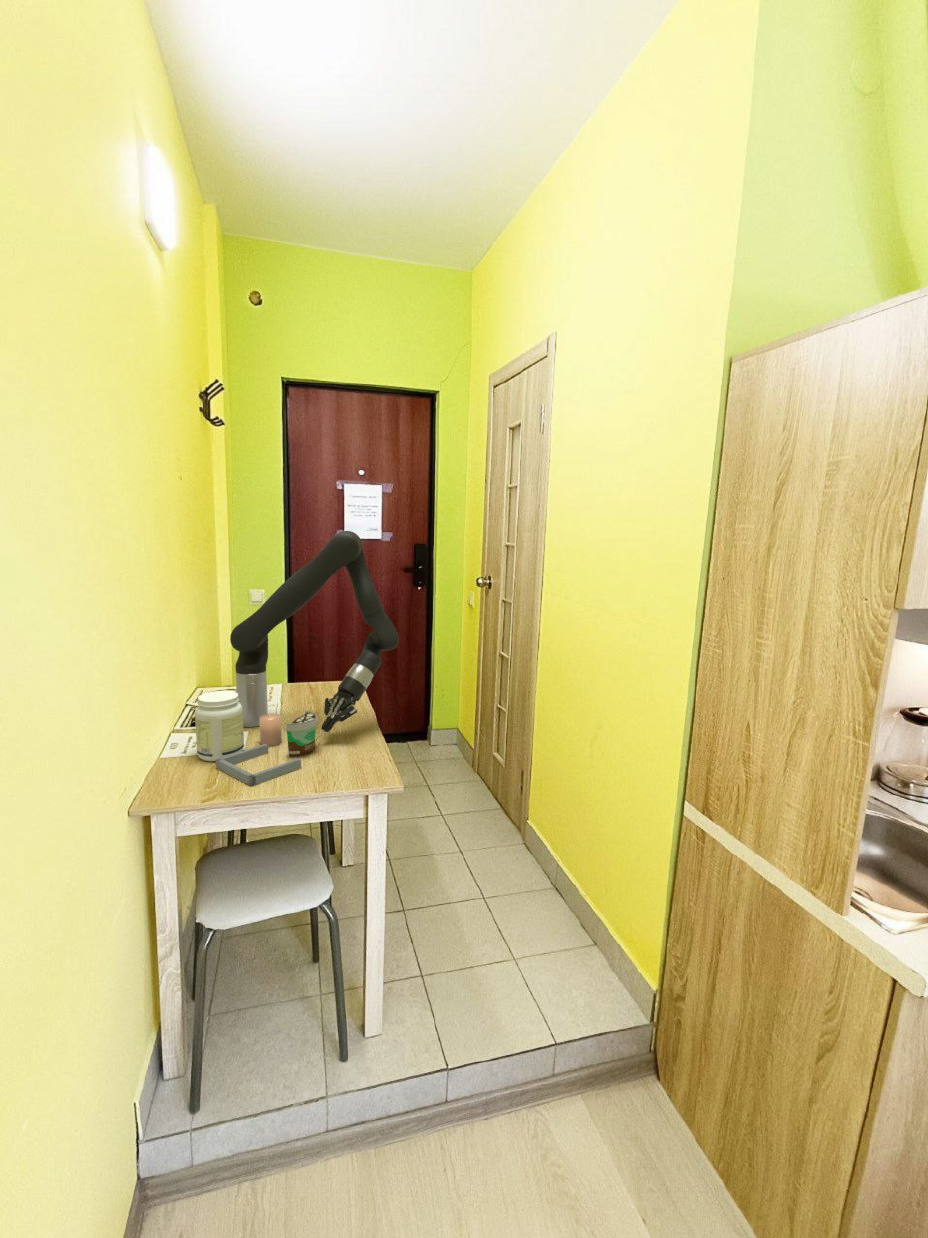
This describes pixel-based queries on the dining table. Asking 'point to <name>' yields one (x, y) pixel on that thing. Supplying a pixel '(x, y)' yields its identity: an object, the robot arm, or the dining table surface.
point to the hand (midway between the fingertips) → (324, 730)
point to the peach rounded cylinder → (270, 729)
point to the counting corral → (254, 779)
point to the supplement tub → (219, 725)
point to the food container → (302, 735)
